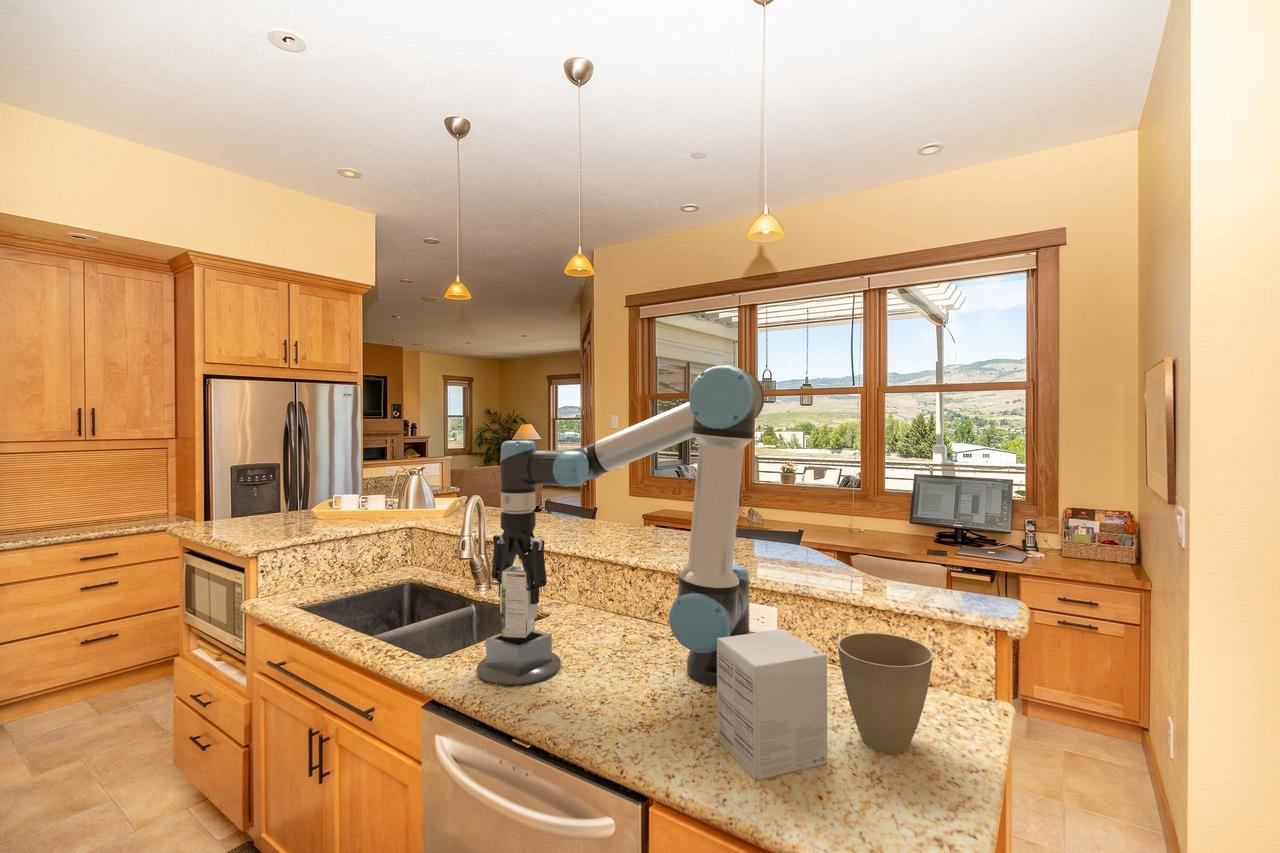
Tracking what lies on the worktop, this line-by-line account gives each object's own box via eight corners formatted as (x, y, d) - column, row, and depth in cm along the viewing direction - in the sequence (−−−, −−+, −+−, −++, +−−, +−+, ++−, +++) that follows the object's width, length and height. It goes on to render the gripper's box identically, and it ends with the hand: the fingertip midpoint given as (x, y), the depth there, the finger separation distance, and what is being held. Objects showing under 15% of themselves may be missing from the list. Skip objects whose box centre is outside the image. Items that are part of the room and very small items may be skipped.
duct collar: (577, 664, 136) (577, 632, 136) (518, 694, 121) (517, 658, 121) (520, 647, 146) (520, 618, 146) (459, 672, 131) (459, 640, 131)
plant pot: (840, 714, 112) (840, 628, 112) (929, 729, 107) (929, 638, 106) (835, 756, 98) (834, 658, 98) (937, 775, 93) (937, 671, 92)
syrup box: (510, 628, 137) (510, 564, 137) (535, 629, 136) (535, 565, 136) (500, 637, 131) (500, 570, 131) (527, 638, 130) (526, 571, 130)
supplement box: (782, 725, 108) (782, 627, 108) (829, 764, 96) (829, 654, 96) (715, 739, 104) (714, 636, 103) (755, 782, 91) (755, 666, 91)
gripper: (474, 509, 136) (474, 611, 136) (539, 517, 124) (539, 628, 125) (499, 505, 142) (500, 602, 142) (564, 512, 131) (564, 619, 131)
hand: (518, 614), depth 134 cm, fingers closed on syrup box, 7 cm apart
